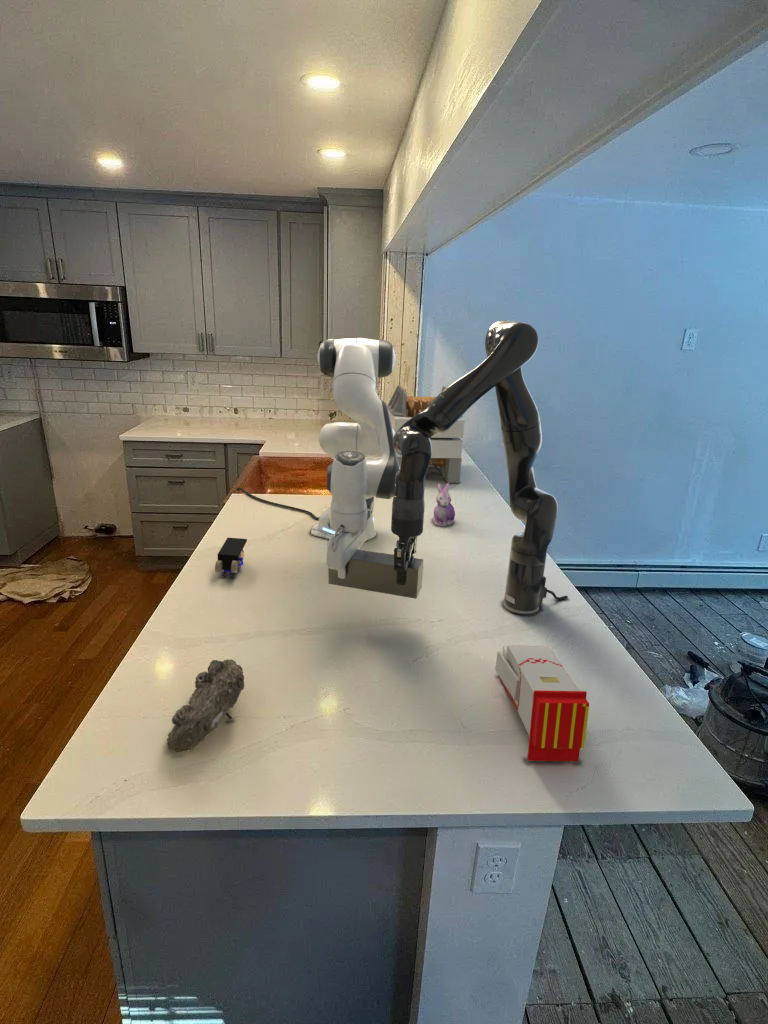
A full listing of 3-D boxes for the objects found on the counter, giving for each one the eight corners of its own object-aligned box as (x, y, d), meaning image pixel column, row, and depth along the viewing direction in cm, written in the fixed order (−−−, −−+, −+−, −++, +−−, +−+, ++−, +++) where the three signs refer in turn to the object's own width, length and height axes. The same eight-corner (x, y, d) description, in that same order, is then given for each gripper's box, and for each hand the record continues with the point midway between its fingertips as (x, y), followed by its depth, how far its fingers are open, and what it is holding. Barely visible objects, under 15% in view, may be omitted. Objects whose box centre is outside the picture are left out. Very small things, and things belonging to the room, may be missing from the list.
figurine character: (238, 584, 162) (249, 557, 175) (236, 562, 158) (247, 536, 172) (215, 584, 161) (227, 556, 175) (212, 561, 158) (225, 535, 171)
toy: (545, 627, 125) (599, 699, 96) (539, 683, 128) (590, 769, 99) (490, 626, 125) (528, 698, 96) (486, 682, 128) (522, 768, 98)
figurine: (440, 528, 206) (443, 489, 201) (425, 519, 214) (428, 481, 209) (461, 525, 210) (465, 486, 205) (446, 516, 219) (449, 478, 214)
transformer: (382, 463, 289) (386, 382, 275) (445, 464, 293) (451, 384, 279) (390, 482, 257) (394, 392, 243) (460, 483, 261) (468, 394, 247)
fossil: (192, 660, 117) (244, 628, 112) (224, 691, 120) (276, 661, 115) (142, 746, 98) (202, 712, 93) (182, 779, 101) (242, 748, 96)
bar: (328, 583, 141) (328, 555, 138) (336, 574, 146) (336, 546, 143) (416, 598, 135) (418, 569, 133) (421, 587, 141) (423, 559, 138)
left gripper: (346, 536, 127) (345, 591, 131) (373, 508, 145) (371, 557, 150) (320, 532, 128) (319, 587, 133) (349, 504, 147) (348, 553, 151)
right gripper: (416, 526, 125) (412, 594, 130) (429, 505, 138) (425, 568, 143) (383, 521, 126) (381, 588, 132) (399, 502, 139) (396, 564, 145)
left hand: (347, 571), depth 141 cm, fingers closed on bar, 6 cm apart
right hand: (404, 578), depth 138 cm, fingers closed on bar, 6 cm apart
